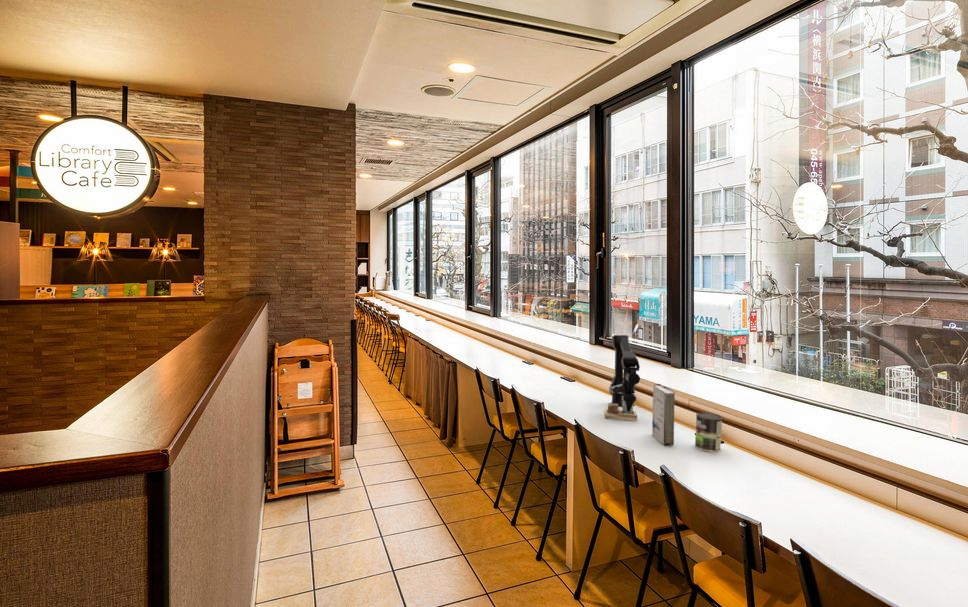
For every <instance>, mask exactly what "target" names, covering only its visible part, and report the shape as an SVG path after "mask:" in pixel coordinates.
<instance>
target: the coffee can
mask: <svg viewBox="0 0 968 607" xmlns="http://www.w3.org/2000/svg"><path fill="white" fill-rule="evenodd" d="M722 424H723V416H721V415H719V414H718V413H712V412H698V413H696V421H695V442H694V447H695V448H696V449H697V450H699V451H702V452H709V453H717V452H721V446H722V445H721V442H722V427H723V426H722Z"/></svg>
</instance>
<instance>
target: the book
mask: <svg viewBox="0 0 968 607" xmlns="http://www.w3.org/2000/svg"><path fill="white" fill-rule="evenodd" d="M652 388H653V389H652V429H651V430H652V431H651V432H652V433H651V435H652V436H653V437H654V438H655V439H656V441H658V442H660V444H662V446H665V445H666V444H671V445H672V446H674V444H675V400H676V398H675V391H674V390H673V389H672V388H669V387H667V386H665V385H662V384H661V383H656V384H653V387H652Z"/></svg>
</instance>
